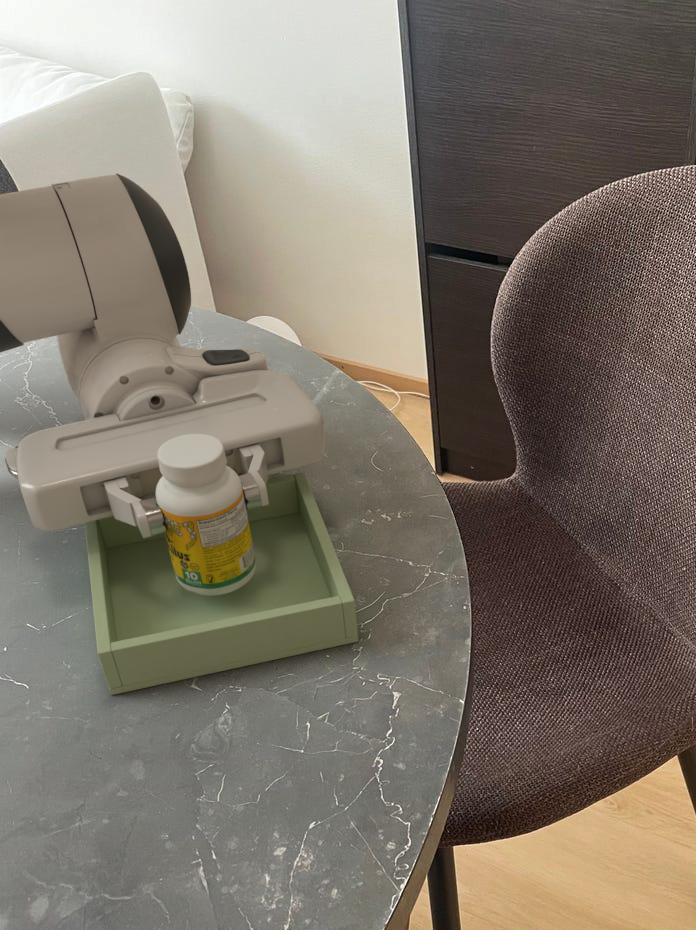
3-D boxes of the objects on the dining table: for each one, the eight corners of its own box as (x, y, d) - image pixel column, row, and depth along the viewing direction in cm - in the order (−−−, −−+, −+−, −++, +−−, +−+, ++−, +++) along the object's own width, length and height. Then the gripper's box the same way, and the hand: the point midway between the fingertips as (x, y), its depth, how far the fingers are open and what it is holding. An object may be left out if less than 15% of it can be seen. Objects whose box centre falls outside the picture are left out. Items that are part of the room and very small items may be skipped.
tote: (111, 695, 64) (97, 653, 62) (95, 550, 75) (82, 509, 72) (358, 641, 68) (354, 600, 65) (309, 511, 79) (304, 471, 76)
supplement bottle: (269, 581, 69) (248, 458, 63) (192, 608, 67) (162, 483, 61) (239, 540, 73) (216, 419, 66) (164, 564, 71) (133, 441, 64)
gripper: (-14, 406, 69) (21, 514, 60) (279, 343, 76) (351, 431, 67) (14, 486, 73) (51, 598, 64) (289, 419, 81) (358, 512, 71)
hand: (206, 512), depth 66 cm, fingers closed on supplement bottle, 5 cm apart
